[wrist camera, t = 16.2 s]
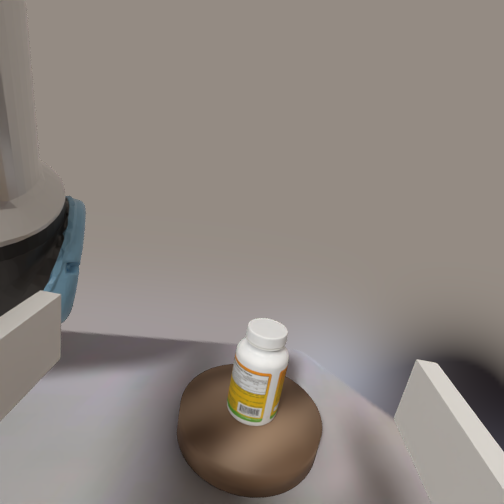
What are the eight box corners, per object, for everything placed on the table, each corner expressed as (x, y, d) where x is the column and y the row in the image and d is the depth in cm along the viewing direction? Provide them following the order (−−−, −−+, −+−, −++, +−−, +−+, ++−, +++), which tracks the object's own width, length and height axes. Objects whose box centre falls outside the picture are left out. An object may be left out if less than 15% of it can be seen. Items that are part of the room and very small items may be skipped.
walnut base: (151, 412, 38) (153, 389, 37) (252, 370, 48) (256, 351, 47) (237, 533, 28) (243, 506, 27) (343, 448, 38) (350, 426, 37)
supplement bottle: (260, 386, 41) (276, 311, 38) (286, 420, 36) (306, 338, 33) (217, 396, 38) (231, 316, 35) (240, 434, 34) (258, 346, 31)
